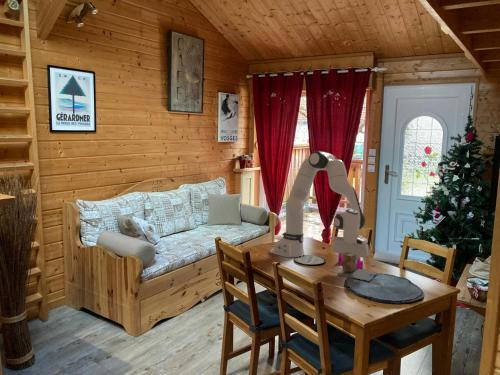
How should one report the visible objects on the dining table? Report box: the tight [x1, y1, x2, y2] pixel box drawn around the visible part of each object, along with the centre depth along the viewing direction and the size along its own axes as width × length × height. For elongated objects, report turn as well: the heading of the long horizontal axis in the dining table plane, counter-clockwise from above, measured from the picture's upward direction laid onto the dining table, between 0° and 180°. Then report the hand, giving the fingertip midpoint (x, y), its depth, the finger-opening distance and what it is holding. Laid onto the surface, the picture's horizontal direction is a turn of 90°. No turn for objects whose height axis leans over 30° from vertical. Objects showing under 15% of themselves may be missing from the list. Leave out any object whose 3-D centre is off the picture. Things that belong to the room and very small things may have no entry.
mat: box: [336, 268, 379, 282], centre depth 231 cm, size 18×16×1 cm
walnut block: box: [341, 252, 356, 272], centre depth 233 cm, size 5×9×10 cm, turn 147°
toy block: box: [337, 253, 364, 270], centre depth 247 cm, size 15×6×8 cm, turn 27°
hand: (349, 262), depth 233 cm, fingers closed on walnut block, 5 cm apart
